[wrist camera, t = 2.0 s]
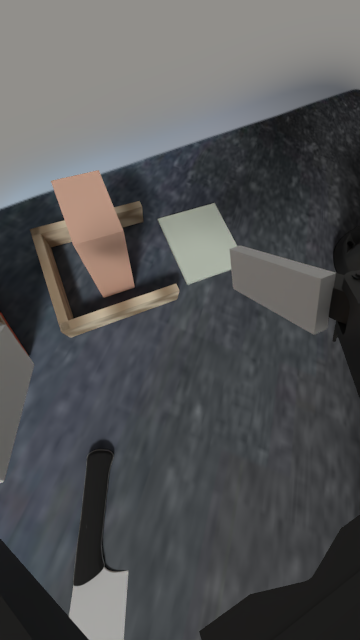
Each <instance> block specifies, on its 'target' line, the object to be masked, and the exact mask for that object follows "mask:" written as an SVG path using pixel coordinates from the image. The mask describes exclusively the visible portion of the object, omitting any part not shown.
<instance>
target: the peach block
mask: <svg viewBox="0 0 360 640" xmlns="http://www.w3.org/2000/svg"><path fill="white" fill-rule="evenodd" d="M51 182H52V185H53V188H54V191H55V194H56V197H57V200H58V203H59V205H60V208H61V211H62V214H63V217H64V220H65V223H66V225H67V228H68V231H69V234H70V237H71V240H72V243H73V245H74V247H75V249H76V251H77V252H78V254H79V256H80V258H81V259H82V261H83V263H84V264H85V266H86V268H87V270H88V271H89V273H90V275H91V277H92V278H93V280H94V282H95V284H96V285H97V287H98V289H99V291H100V292H101V294H102V296H103V298H105V297H108V296H111V295H114V294H117V293H120V292H123V291H126V290H129V289H132V288H135V286H134V281H133V276H132V271H131V266H130V261H129V256H128V251H127V246H126V241H125V236H124V231H123V228H122V226H121V223H120V221H119V219H118V216H117V214H116V211H115V209H114V206H113V204H112V202H111V199H110V197H109V194H108V192H107V189H106V187H105V185H104V182H103V180H102V177H101V175H100V172H99V171H93V172H89V173H84V174H80V175H75V176H71V177H66V178H62V179H58V180H53V181H51Z"/></svg>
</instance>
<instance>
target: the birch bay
mask: <svg viewBox="0 0 360 640" xmlns="http://www.w3.org/2000/svg"><path fill="white" fill-rule="evenodd" d="M114 209H115V211H116V214H117V216H118V219H119V221H120V223H121V226H122V228H123V227H127V226H130V225H134V224H137V223H141V222H143V211H142V205H141V203H140V201H137V202H133V203H130V204H126V205H122V206H118V207H114ZM30 231H31V235H32V238H33V241H34V244H35V248H36V251H37V254H38V257H39V261H40V264H41V267H42V270H43V274H44V277H45V280H46V284H47V287H48V290H49V293H50V297H51V300H52V303H53V306H54V310H55V313H56V316H57V319H58V323H59V326H60V329H61V332H62V333H64V334H65V335H67V336H69V337H74V336H76V335H79V334H82V333H85V332H88V331H90V330H93V329H96V328H99V327H101V326H104V325H107V324H110V323H113V322H115V321H118V320H121V319H124V318H126V317H129V316H132V315H135V314H138V313H140V312H143V311H146V310H149V309H152V308H154V307H157V306H160V305H163V304H165V303H168V302H171V301H174V300H177V298H178V294H179V289H178V286H177V284H173V285H170V286H167V287H164V288H161V289H159V290H156V291H153V292H150V293H147V294H144V295H141V296H138V297H135V298H132V299H129V300H127V301H124V302H121V303H118V304H115V305H112V306H109V307H106V308H103V309H100V310H97V311H95V312H92V313H89V314H86V315H83V316H80V317H77V318H73V314H72V311H71V308H70V305H69V302H68V299H67V296H66V293H65V290H64V287H63V283H62V280H61V277H60V274H59V271H58V268H57V265H56V262H55V259H54V256H53V253H52V249H51V247H55V246H58V245H62V244H66V243H69V242H72V240H71V237H70V234H69V231H68V228H67V225H66V223H65V220H64V221H60V222H56V223H52V224H48V225H45V226H41V227H37V228H33V229H30Z"/></svg>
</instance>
